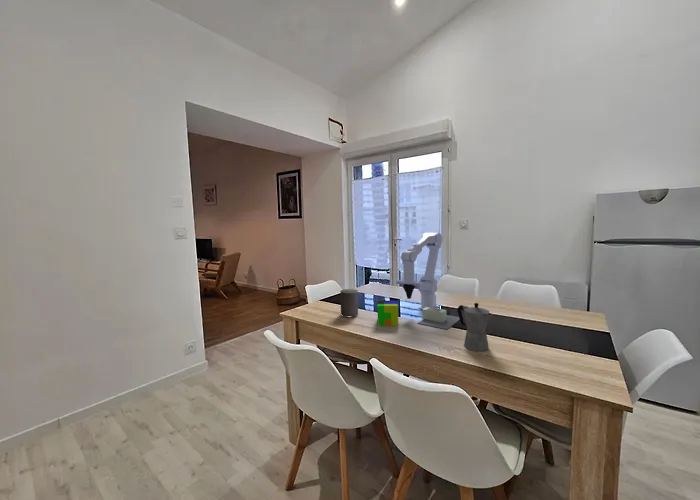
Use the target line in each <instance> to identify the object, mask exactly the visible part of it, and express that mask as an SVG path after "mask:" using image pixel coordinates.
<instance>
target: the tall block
mask: <svg viewBox="0 0 700 500" xmlns="http://www.w3.org/2000/svg"><path fill="white" fill-rule="evenodd" d="M447 313H448V312H447V309H442V308H437V307H436V308H430V307H425V308H423V309H421V319H422V320H423V319H427V320H432V321H437V322H444V321H446V320H447V315H448V314H447Z"/></svg>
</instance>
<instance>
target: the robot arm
mask: <svg viewBox="0 0 700 500" xmlns="http://www.w3.org/2000/svg"><path fill="white" fill-rule="evenodd" d="M442 242H443V237H442V234H441V233H440V232H424V233H423V234H422V235H421V238H420V240H419V241H418V242H417V243H412V245H411V247H409V248H408V249H407V250H404V251H402V252H401V254H400V255H401V256H400V259H401V262H402V263H401V264H402V265H403V279H397V280H396V282H395V283H396V285H402V288H403V290H404V292H405V295H406V298H407V299H412V295H413V293H414V290H415V287H417V290H418V292H419V293H420V306H418V309H420V310H422V309H423V308H425V307H430V308H436V309H437V308H438V305H437V295H436V292H437V290H438V281H437V279H436V278H435V277H434V276H435V271H436V266H437V263H438V256H439V251H440V249H441V248H442ZM425 246H426V248H428V249H429V250H428V256H427V262H426V267H425V271H424V275H423V276H421V277H420V278H419V281H416V280H415V261H416V260H417V258H418V255H420V254H421V253H422V251H423V248H424V247H425Z"/></svg>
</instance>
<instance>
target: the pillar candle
mask: <svg viewBox="0 0 700 500" xmlns="http://www.w3.org/2000/svg"><path fill="white" fill-rule="evenodd" d="M358 296H359V290H357V289H356V288H355V289H354V288H344V289H341V290H340V315H341V314H342V315H343V316H356V315H358V316H359V297H358ZM356 317H357V316H356Z"/></svg>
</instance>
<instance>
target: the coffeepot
mask: <svg viewBox="0 0 700 500" xmlns="http://www.w3.org/2000/svg"><path fill="white" fill-rule="evenodd" d="M473 305H474V306H472V307H470V306H467V305H462V304H460V305H459V306H458V307H457V308H456V311H457V315H458V317H459V319H460V320H459V322H460V324H461V325H462V326H465V327H466V332H465V336H464V343H463V347H464V348H465V349H467V350H469V351H471V352H472V351H473V352H480V353H482V352H486V351H488V350H489V343H488V342H489V341H488V335H487V332H486V329H487V325H488V321H489V320H490V318H491V317H493V314H492V313H491V312H490V310H488V309H487V308H484V307H479V303H477V302H475V303H474V304H473ZM462 311H463V313H464V314H463V313H462ZM463 315H464V317H463ZM464 321H465V322H464Z"/></svg>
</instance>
